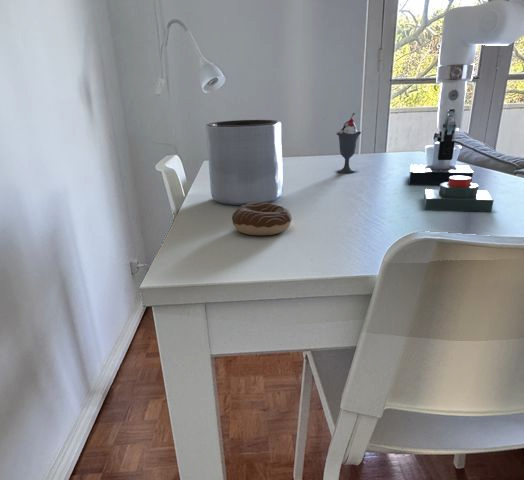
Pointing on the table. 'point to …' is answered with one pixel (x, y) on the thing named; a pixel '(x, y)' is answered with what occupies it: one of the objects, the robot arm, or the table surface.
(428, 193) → the box
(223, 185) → the planter
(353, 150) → the sundae
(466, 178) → the button
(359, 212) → the table surface
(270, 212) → the donut
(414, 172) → the block
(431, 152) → the candle
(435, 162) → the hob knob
